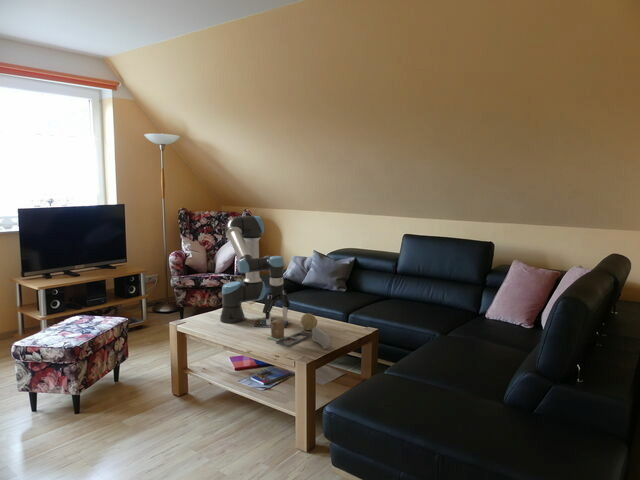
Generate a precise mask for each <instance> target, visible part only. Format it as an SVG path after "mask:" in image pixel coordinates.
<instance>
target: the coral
mask: <svg viewBox="0 0 640 480" xmlns="http://www.w3.org/2000/svg"><path fill="white" fill-rule="evenodd" d="M300 323H301V326H303V328H304V329H305V331H312V329H313V328H314V327H318V326H317V325H318V319H317V318H316V316H315V315H314V314H312V313H310V312H307V313H305V314H303V315H302V317H301V318H300Z"/></svg>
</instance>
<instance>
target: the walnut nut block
mask: <svg viewBox="0 0 640 480" xmlns="http://www.w3.org/2000/svg"><path fill="white" fill-rule="evenodd" d="M284 321H285V320H282V319H274V320H272V321H271V325H270V336H271V337H272V338H276V339H279V338H282V337H284V336H285V322H284Z"/></svg>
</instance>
